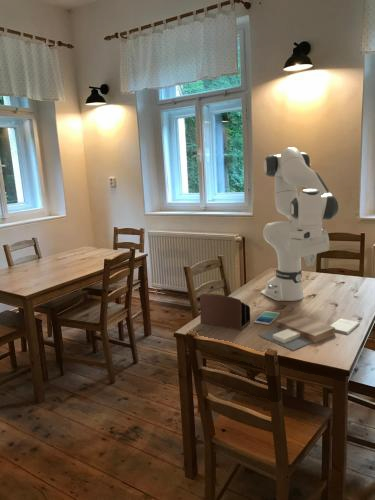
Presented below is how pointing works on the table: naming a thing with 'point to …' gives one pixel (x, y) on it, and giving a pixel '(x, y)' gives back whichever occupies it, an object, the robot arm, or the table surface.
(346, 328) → the external hard drive
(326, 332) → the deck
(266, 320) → the smartphone
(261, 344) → the table surface
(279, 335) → the cream flat block
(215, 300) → the letter holder
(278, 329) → the mat
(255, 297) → the table surface
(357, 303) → the table surface
